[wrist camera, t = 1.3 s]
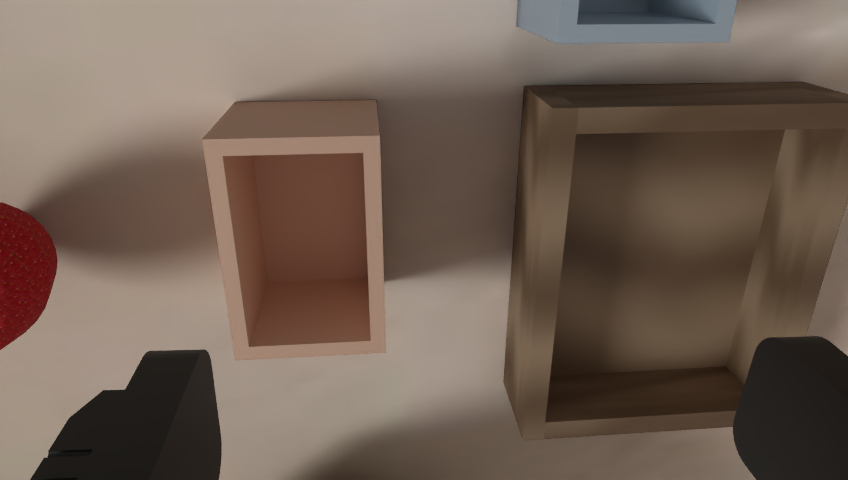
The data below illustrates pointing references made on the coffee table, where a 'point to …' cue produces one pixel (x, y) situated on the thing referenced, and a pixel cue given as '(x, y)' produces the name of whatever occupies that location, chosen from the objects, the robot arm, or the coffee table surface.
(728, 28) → the blue-grey hollow box
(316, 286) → the terracotta crate
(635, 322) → the walnut crate
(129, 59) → the coffee table surface
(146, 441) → the robot arm
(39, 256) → the strawberry
